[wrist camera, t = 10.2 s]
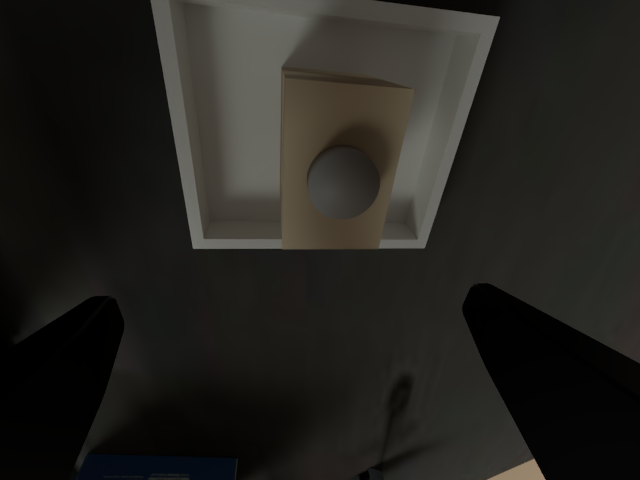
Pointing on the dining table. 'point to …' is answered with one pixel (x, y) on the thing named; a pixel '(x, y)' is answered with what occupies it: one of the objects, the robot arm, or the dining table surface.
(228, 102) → the housing tray
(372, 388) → the dining table surface
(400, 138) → the brown block
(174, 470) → the protein box
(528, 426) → the robot arm
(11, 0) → the dining table surface
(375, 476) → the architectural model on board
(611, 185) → the dining table surface
